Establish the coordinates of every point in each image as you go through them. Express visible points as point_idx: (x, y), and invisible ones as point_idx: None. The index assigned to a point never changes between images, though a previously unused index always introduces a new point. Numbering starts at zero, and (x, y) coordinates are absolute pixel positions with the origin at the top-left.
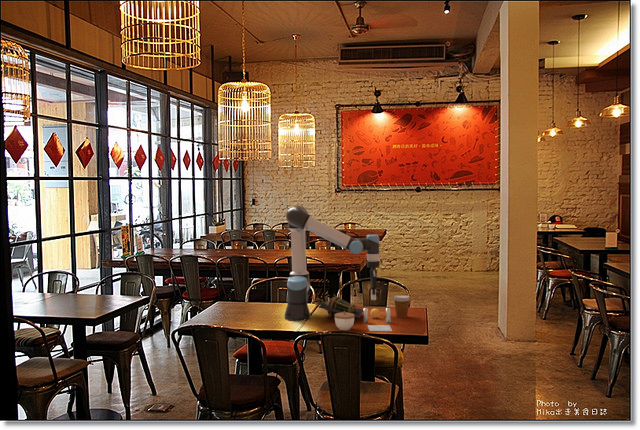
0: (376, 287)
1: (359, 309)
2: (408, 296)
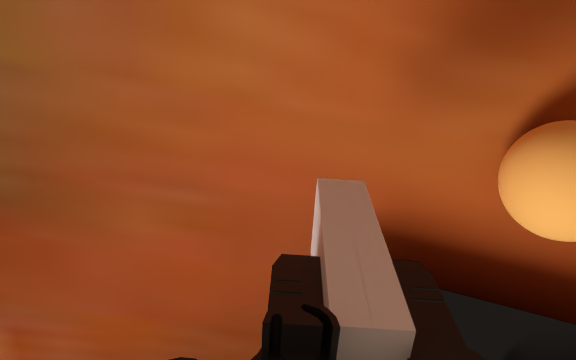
0: (313, 329)
1: None
2: None
